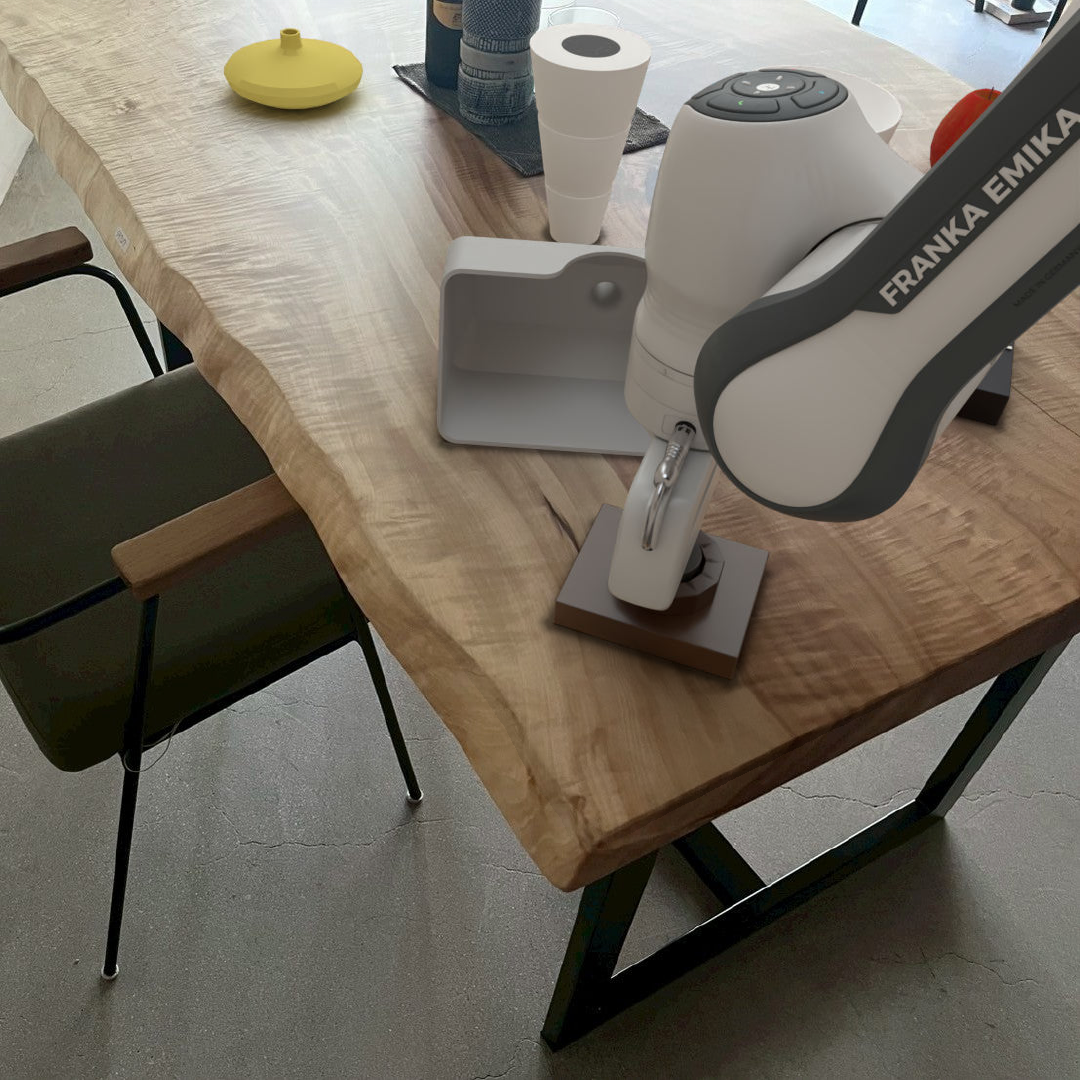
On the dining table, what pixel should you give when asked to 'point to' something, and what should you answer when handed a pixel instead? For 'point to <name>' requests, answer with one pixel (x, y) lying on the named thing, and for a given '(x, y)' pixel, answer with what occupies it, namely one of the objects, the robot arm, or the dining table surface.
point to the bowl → (863, 99)
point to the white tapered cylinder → (584, 118)
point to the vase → (293, 71)
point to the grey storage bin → (538, 345)
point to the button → (692, 564)
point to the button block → (694, 615)
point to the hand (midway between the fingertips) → (669, 550)
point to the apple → (960, 120)
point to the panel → (991, 391)
